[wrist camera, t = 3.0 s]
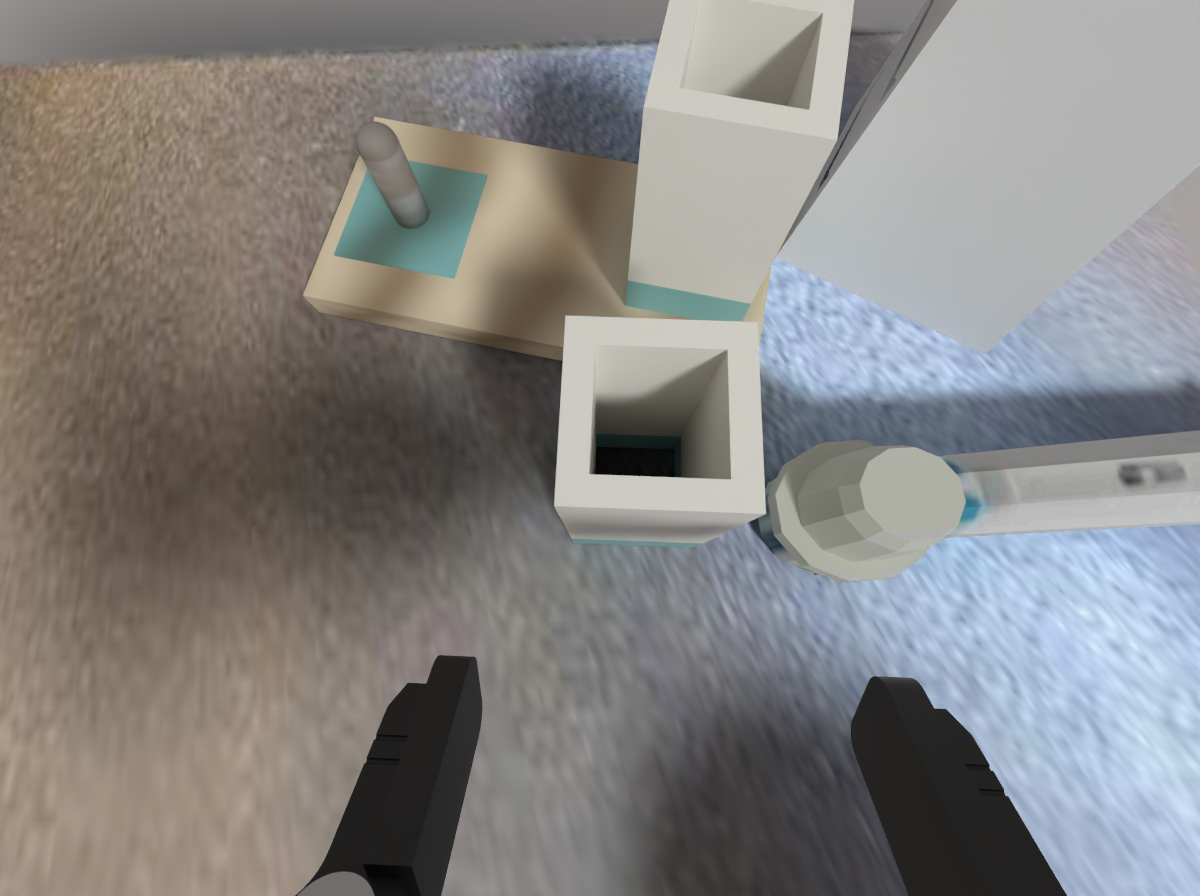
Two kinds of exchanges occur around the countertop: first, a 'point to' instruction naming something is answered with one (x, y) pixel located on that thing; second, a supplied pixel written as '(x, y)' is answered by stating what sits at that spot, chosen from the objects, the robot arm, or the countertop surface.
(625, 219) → the pin board
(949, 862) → the robot arm
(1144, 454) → the electric toothbrush
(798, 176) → the seated sleeve
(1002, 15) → the grater
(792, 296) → the countertop surface
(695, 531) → the sleeve
